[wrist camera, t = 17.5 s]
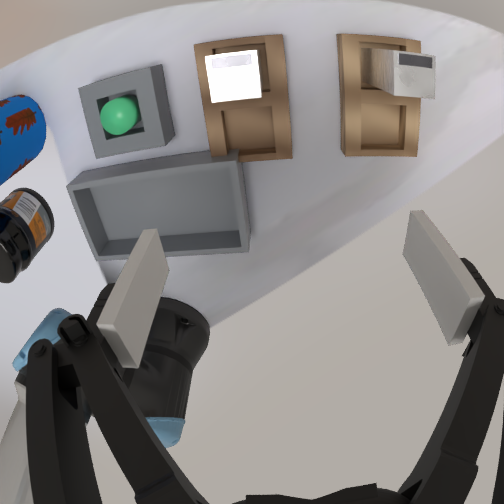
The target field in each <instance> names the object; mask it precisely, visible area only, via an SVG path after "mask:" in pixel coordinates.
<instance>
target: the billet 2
mask: <svg viewBox="0 0 504 504" xmlns="http://www.w3.org/2000/svg"><path fill="white" fill-rule="evenodd" d="M361 58H362V81H364V82H366V83H368V84H370V85H373V86H375V87H377V88H379V89H381V90H383V91H386V92H388V93H390V94H392V95H394V96H407V97H418V98H429V99H435V56H433V55H427V54H421V53H414V52H406V51H398V50H389V49H377V48H362V47H361Z"/></svg>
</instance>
